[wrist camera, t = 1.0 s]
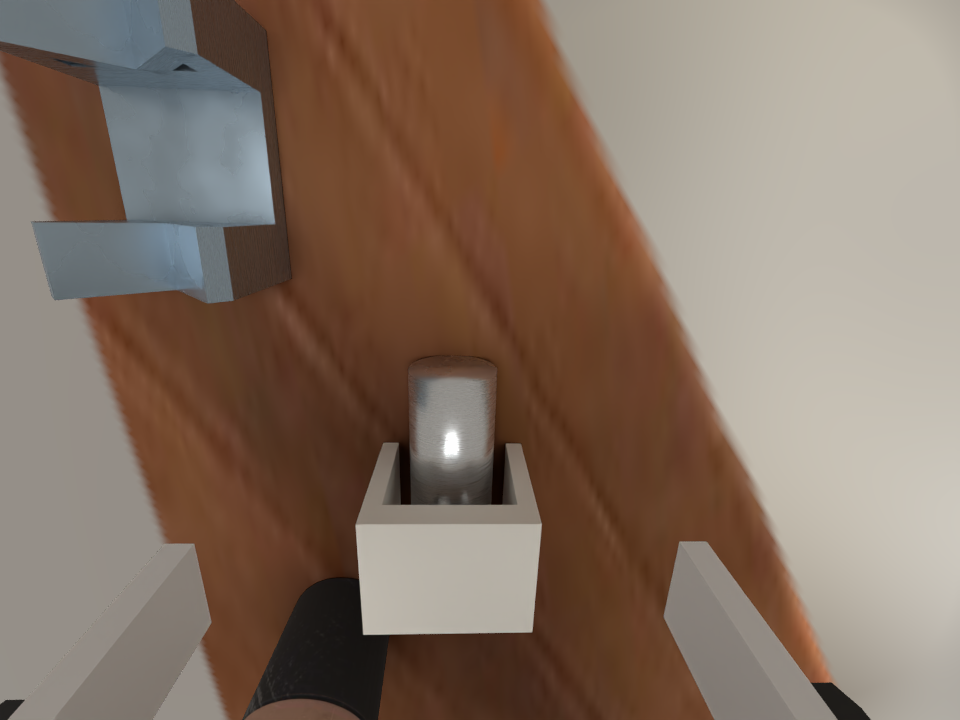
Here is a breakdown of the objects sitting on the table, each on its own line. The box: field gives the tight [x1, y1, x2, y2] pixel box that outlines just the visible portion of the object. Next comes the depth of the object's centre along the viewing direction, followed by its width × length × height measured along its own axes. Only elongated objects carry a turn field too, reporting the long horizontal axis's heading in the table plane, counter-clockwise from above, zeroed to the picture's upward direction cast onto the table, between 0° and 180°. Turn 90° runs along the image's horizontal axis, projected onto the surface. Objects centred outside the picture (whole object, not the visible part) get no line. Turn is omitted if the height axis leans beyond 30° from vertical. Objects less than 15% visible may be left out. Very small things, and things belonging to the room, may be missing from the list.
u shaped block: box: [356, 443, 542, 635], centre depth 26 cm, size 7×9×8 cm
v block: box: [0, 0, 292, 303], centre depth 20 cm, size 12×7×8 cm, turn 178°
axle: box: [408, 356, 497, 505], centre depth 26 cm, size 10×5×5 cm, turn 178°
